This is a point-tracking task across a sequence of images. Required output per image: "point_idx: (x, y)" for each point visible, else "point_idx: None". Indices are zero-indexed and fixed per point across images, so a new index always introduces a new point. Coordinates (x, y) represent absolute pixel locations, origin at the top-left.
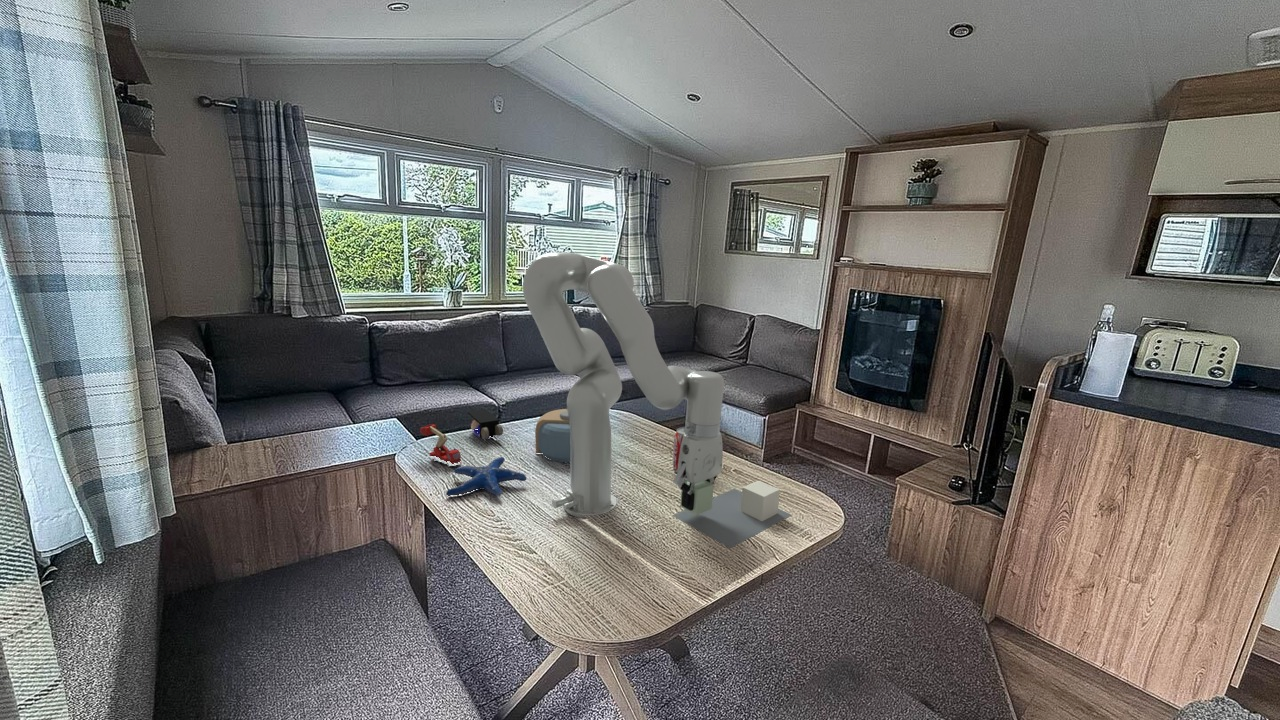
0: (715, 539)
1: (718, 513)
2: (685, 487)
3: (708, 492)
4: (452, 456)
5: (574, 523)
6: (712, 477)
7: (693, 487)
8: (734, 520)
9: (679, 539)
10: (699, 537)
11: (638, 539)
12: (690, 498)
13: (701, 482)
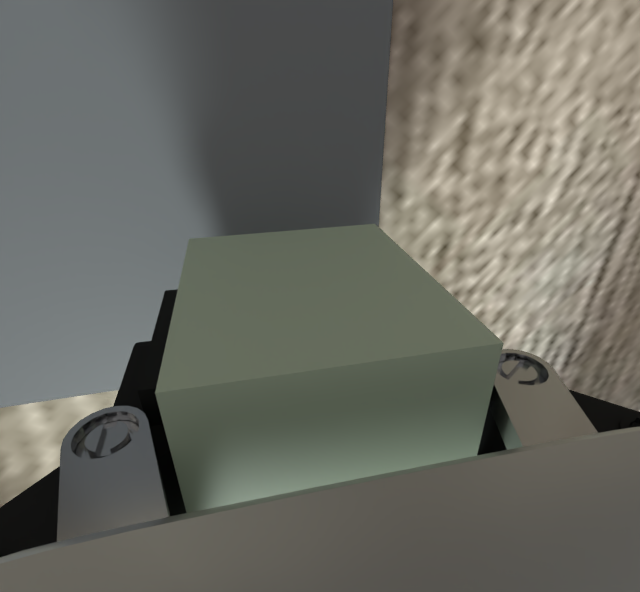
0: None
1: (91, 230)
2: (636, 426)
3: (266, 317)
4: None
5: None
6: (192, 512)
7: (514, 409)
8: (19, 61)
9: (489, 163)
10: (393, 102)
11: (598, 274)
12: None
13: (292, 482)
